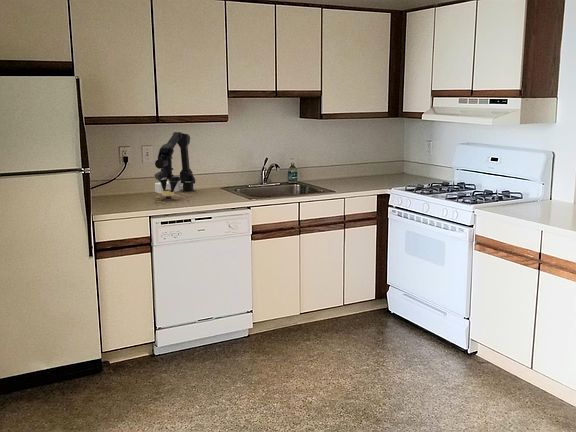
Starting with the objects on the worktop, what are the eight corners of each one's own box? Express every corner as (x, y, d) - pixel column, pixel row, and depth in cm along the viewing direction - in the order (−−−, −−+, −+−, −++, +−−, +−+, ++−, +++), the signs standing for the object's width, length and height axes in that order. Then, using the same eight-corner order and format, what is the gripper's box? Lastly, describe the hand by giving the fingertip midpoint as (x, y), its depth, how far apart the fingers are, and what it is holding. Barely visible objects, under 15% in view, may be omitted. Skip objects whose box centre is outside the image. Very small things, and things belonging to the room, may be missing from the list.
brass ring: (169, 193, 370) (169, 188, 369) (176, 194, 365) (176, 190, 364) (160, 195, 365) (159, 190, 364) (166, 196, 360) (166, 191, 359)
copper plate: (180, 194, 385) (180, 192, 385) (195, 197, 374) (195, 195, 374) (154, 198, 371) (154, 196, 371) (169, 201, 360) (169, 200, 360)
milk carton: (154, 183, 386) (178, 180, 399) (155, 193, 387) (178, 190, 400) (160, 184, 381) (184, 181, 394) (160, 195, 382) (184, 191, 395)
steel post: (169, 197, 368) (168, 189, 367) (172, 198, 365) (172, 190, 364) (164, 198, 365) (164, 190, 364) (167, 199, 363) (167, 191, 362)
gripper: (147, 166, 362) (148, 191, 365) (165, 169, 349) (166, 194, 352) (162, 164, 369) (163, 189, 373) (180, 167, 357) (181, 192, 360)
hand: (168, 191), depth 364 cm, fingers open, 8 cm apart
